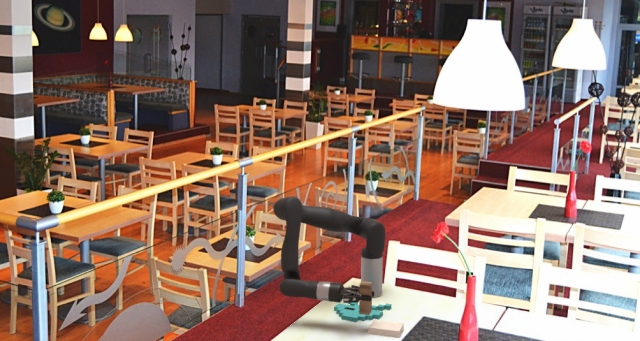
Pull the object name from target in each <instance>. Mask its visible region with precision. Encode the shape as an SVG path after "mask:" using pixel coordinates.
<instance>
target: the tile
mask: <svg viewBox="0 0 640 341" xmlns="http://www.w3.org/2000/svg"><path fill="white" fill-rule="evenodd" d="M371 321H372V322H371V323H370V324H369V326H368V335H376V336H383V337H391V338H400V337H401V335H402V333H403V331H404V324H405V323H403V322H394V321H389V320H388V321H386V320H380V319H372V320H371Z"/></svg>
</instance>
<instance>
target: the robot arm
mask: <svg viewBox="0 0 640 341" xmlns="http://www.w3.org/2000/svg"><path fill="white" fill-rule="evenodd" d="M272 209H273V213H274V215H275V217H277V219H279V220H280V221H281V220H282V221H284V222H285V224H286V226H285V233H284V238H283V241H282V245H281V248H280V250H281V251H280V268H281V271H282V272H283V278H284V279H283V280H281V282H280V283H279V286H278V289H279V291H280V294H282V295H283V296H284V297H289V298H291V297H292V298H304V299H310V300H311V299H312V300H319V301H322V302H323V301H324V302H332V303H338V304H339V303H340V304H341V302H342V301H343V303H342V304H348V303H358V304H359V301H371V300H372V301H373V298H377V297H380V296H382V295H383V259H384V256H383V254H384V252H385V246H386V228H385V225H384V224H383V223H382V222H380V221H378V220H376V219H373V218H372V217H371V218H370V217H364V216H356V215H351V214H349V213H346V212H344V211H341V210H339V209H334V208H331V207H326V206H318V205H317V206H316V205H305V204H304V205H303V203H302V201H301V199H300V198H298V197H297V196H294V195H293V196H286V197H283V198H280V199H278V200H276V201H275V202H274V204H273V208H272ZM302 224H305V225H308V226H311V227H314V228H317V229H322V230H325V231H329V232H335V233H350V234H353V235H356V236H358V237H360V238H363V239H365V240H366V241H365V242H366V243H365V247H363V248H362V249H361V252H360V253H361V254H360V258H361V259H360V262H361V263H360V283H361V282H362V281H366V282H372V296H371V295H363V294H359V293H360V285H359V286H358V285H355V284H351V286H348V287H345V286H344V284H343V283H341V282H334V281H319V280H318V281H316V280H301V274H300V270H299V269H300V268H299V266H300V265H299V264H300V259H299V257H300V256H299V247H300V246H299V243H300V234H301V227H302Z"/></svg>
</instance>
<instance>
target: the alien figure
mask: <svg viewBox="0 0 640 341" xmlns="http://www.w3.org/2000/svg"><path fill="white" fill-rule="evenodd" d="M348 304H350V305H348ZM384 310H387V311H390V310H392V304H390V303H385V304H380V303H379V304H378V305H373V304H372V312H371V313H370V315H364V314H359V302H358V303H347V304H346V303H341V302H340V303H339V302H338V303H337V304H336V305H335V306H333V311H334V312H336V315H338V317H339V318H341V320H343V321H349V322H353V323H357V322H359V321H360V322H366V320H367V321H373V320H380V319H381V318H382V317H383V316H384Z"/></svg>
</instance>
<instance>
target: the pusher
mask: <svg viewBox="0 0 640 341" xmlns="http://www.w3.org/2000/svg"><path fill="white" fill-rule="evenodd" d="M359 287H360V293H359V294H363V295H371V296H372V282H366V281H362V282H361V281H360V283H359ZM372 303H373V299H372V300H371V301H359V302H358V305H359V314H364V315H370V313H371V312H372V305H373V304H372Z"/></svg>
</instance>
